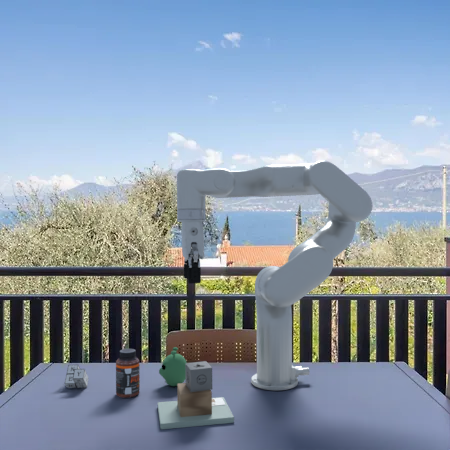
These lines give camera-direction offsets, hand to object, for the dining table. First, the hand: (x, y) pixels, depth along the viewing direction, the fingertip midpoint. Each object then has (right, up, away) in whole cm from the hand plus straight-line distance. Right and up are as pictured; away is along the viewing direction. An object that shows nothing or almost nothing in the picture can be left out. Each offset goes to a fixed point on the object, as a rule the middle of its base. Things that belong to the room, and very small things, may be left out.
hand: (192, 280), depth 126 cm
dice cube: (+3, -23, -17) cm, 29 cm away
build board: (+2, -29, -18) cm, 34 cm away
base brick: (+2, -27, -18) cm, 33 cm away
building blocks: (-31, -29, +1) cm, 42 cm away
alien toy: (-5, -29, +1) cm, 29 cm away
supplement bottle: (-16, -29, -5) cm, 33 cm away
